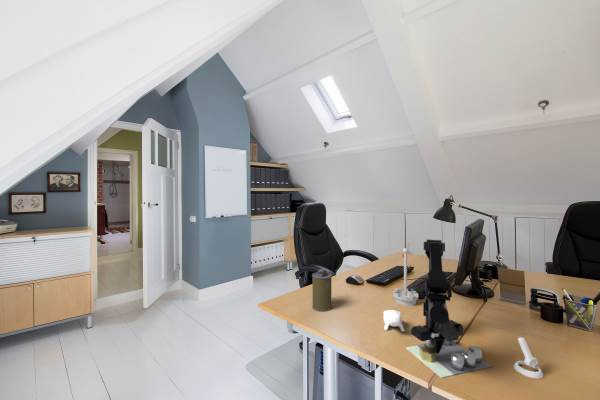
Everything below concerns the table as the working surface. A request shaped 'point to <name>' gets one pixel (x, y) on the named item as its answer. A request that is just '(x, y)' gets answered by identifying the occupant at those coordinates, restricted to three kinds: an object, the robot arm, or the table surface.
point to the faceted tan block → (427, 353)
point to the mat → (445, 360)
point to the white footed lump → (392, 319)
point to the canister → (322, 290)
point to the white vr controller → (527, 361)
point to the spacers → (463, 357)
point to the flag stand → (405, 288)
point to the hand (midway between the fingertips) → (437, 352)
